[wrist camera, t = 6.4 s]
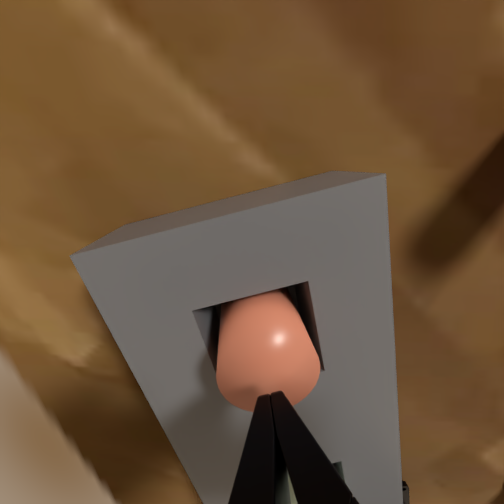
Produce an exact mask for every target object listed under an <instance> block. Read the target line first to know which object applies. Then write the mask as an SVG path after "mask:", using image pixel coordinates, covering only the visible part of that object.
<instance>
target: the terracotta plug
mask: <svg viewBox="0 0 504 504" xmlns="http://www.w3.org/2000/svg"><path fill="white" fill-rule="evenodd" d="M319 374H320V361H319V357H318V355H317V353H316V350H315V348H314V346H313V344H312V342H311V339H310V337H309V335H308V333H307V331H306V328H305V326H304V324H303V322H302V320H301V317H300V315H299V313H298V311H297V309H296V306H295V304H294V302H293V300H292V298H291V296H290V293H289V291H288V289H287V287H282V288H279V289H275V290H271V291H267V292H263V293H259V294H255V295H251V296H247V297H244V298H240V299H236V300H232V301H228V302H224V303H221V315H220V329H219V343H218V357H217V371H216V380H217V385H218V388H219V390H220V392H221V394H222V395H223V396H224V397H225V399H226V400H227V401H229V402H230V403H231V404H233V405H234V406H236V407H238V408H240V409H243V410H246V411H250V412H253V411H254V408H255V404H256V401H257V398H258V396H260V395H264V394H271V393H272V392H276V391H279V390H281V391H283V393H284V394H285V396H286V397H287V398H288V400H289V401H290V403H291V404H292V406H293V405H295V404H297V403H299V402H300V401H302V400H303V399H304V398H305V397H306V396H307V395H308V394H309V393H310V392H311V391H312V390H313V388H314V387H315V385H316V383H317V381H318V378H319Z"/></svg>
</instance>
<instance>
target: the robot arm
mask: <svg viewBox="0 0 504 504" xmlns="http://www.w3.org/2000/svg"><path fill="white" fill-rule="evenodd" d="M287 471H288V473H287ZM288 474H289V477H290V480H291V484H292V487H293V490H294V493H295V497H296V500H297V503H298V504H359V502H358V501H357V499H356V498H355V497H353V494H352V492H351V491H350V489H349V488H348V486H347V485H346V483H345V482H344V481H343V479H342V478H341V476H340V475H339V473H338V472H337V470H336V469H335V467H334V466H333V464H332V463H331V461H330V460H329V459H328V457H327V456H326V454H325V453H324V451H323V450H322V448H321V447H320V445H319V444H318V442H317V441H316V440H315V438H314V437H313V435H312V434H311V432H310V431H309V429H308V428H307V426H306V425H305V423H304V422H303V420H302V419H301V418H300V416H299V415H298V413H297V412H296V410H295V409H294V407H293V406H292V404H291V403H290V401H289V400H288V398H287V397H286V396H285V394H284V393H283V391H281V390H279V391H276V392H272V393H271V394H264V395H260V396H258V398H257V401H256V404H255V408H254V411H253V415H252V419H251V422H250V426H249V429H248V433H247V437H246V440H245V444H244V447H243V451H242V455H241V458H240V462H239V466H238V469H237V473H236V476H235V480H234V484H233V487H232V491H231V494H230V498H229V502H228V504H291V499H290V490H289V481H288ZM402 492H403V504H409V487H408V486H407V484H406V482H405V481H402Z"/></svg>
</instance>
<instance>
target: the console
mask: <svg viewBox="0 0 504 504" xmlns="http://www.w3.org/2000/svg"><path fill="white" fill-rule="evenodd" d="M70 258H71V259H72V261H73V263H74V265H75V267H76V269H77V271H78V272H79V274H80V276H81V278H82V280H83V282H84V284H85V285H86V287H87V289H88V291H89V293H90V295H91V297H92V298H93V300H94V302H95V304H96V306H97V308H98V309H99V311H100V313H101V315H102V317H103V319H104V321H105V322H106V324H107V326H108V328H109V330H110V332H111V334H112V335H113V337H114V339H115V341H116V343H117V345H118V347H119V348H120V350H121V352H122V354H123V356H124V358H125V360H126V361H127V363H128V365H129V367H130V369H131V371H132V372H133V374H134V376H135V378H136V380H137V382H138V384H139V385H140V387H141V389H142V391H143V393H144V395H145V397H146V398H147V400H148V402H149V404H150V406H151V408H152V410H153V411H154V413H155V415H156V417H157V419H158V421H159V422H160V424H161V426H162V428H163V430H164V432H165V434H166V435H167V437H168V439H169V441H170V443H171V445H172V447H173V448H174V450H175V452H176V454H177V456H178V458H179V460H180V461H181V463H182V465H183V467H184V469H185V471H186V473H187V474H188V476H189V478H190V480H191V482H192V484H193V485H194V487H195V489H196V491H197V493H198V495H199V497H200V498H201V500H202V502H203V504H228V502H229V498H230V494H231V491H232V487H233V484H234V480H235V476H236V473H237V469H238V466H239V462H240V458H241V455H242V451H243V447H244V444H245V440H246V437H247V433H248V429H249V426H250V422H251V419H252V415H253V412H250V411H246V410H243V409H240V408H238V407H236V406H234V405H233V404H231V403H230V402H229V401H227V400H226V399H225V397H224V396H223V395H222V394H221V392H220V390H219V388H218V385H217V380H216V371H217V357H218V343H219V329H220V315H221V303H224V302H228V301H232V300H236V299H240V298H244V297H247V296H251V295H255V294H259V293H263V292H267V291H271V290H275V289H279V288H282V287H287V289H288V291H289V293H290V296H291V298H292V300H293V302H294V304H295V306H296V309H297V311H298V313H299V315H300V317H301V320H302V322H303V324H304V326H305V328H306V331H307V333H308V335H309V337H310V339H311V342H312V344H313V346H314V348H315V350H316V353H317V355H318V357H319V361H320V374H319V378H318V381H317V383H316V385H315V387H314V388H313V390H312V391H311V392H310V393H309V394H308V395H307V396H306V397H305V398H304V399H303V400H302V401H300V402H299V403H297V404H295V405H293V407H294V409H295V410H296V412H297V413H298V415H299V416H300V418H301V419H302V420H303V422H304V423H305V425H306V426H307V428H308V429H309V431H310V432H311V434H312V435H313V437H314V438H315V440H316V441H317V442H318V444H319V445H320V447H321V448H322V450H323V451H324V453H325V454H326V456H327V457H328V459H329V460H330V461H331V463H332V464H333V466H334V467H335V469H336V470H337V472H338V473H339V475H340V476H341V478H342V479H343V481H344V482H345V483H346V485H347V486H348V488H349V489H350V491H351V492H352V494H353V497H355V498H356V499H357V501H358V502H359V504H403V492H402V473H401V454H400V435H399V416H398V397H397V378H396V359H395V339H394V320H393V301H392V282H391V263H390V244H389V225H388V206H387V187H386V174H384V173H365V172H346V171H330V172H326V173H322V174H319V175H315V176H311V177H307V178H303V179H299V180H296V181H292V182H288V183H284V184H280V185H276V186H272V187H269V188H265V189H261V190H257V191H253V192H249V193H246V194H242V195H238V196H234V197H230V198H226V199H222V200H219V201H215V202H211V203H207V204H203V205H199V206H196V207H192V208H188V209H184V210H180V211H176V212H172V213H169V214H165V215H161V216H157V217H153V218H149V219H146V220H142V221H138V222H134V223H130V224H126V225H124V226H122V227H120V228H118V229H116V230H115V231H113V232H111V233H109V234H108V235H106V236H104V237H102V238H100V239H99V240H97V241H95V242H93V243H91V244H90V245H88V246H86V247H84V248H82V249H81V250H79V251H77V252H75V253H74V254H72V255H70ZM287 473H288V471H287Z"/></svg>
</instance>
